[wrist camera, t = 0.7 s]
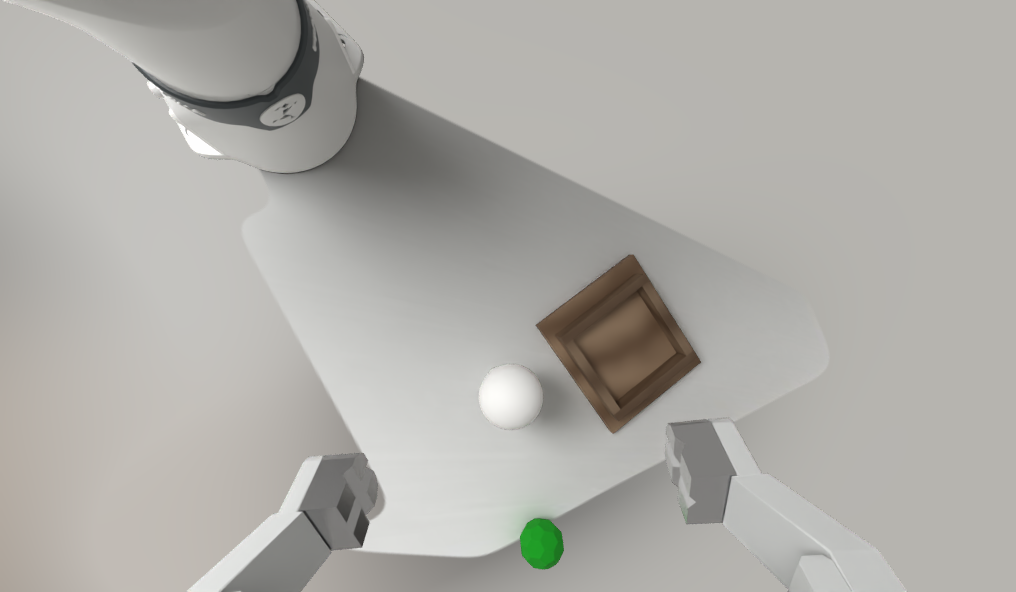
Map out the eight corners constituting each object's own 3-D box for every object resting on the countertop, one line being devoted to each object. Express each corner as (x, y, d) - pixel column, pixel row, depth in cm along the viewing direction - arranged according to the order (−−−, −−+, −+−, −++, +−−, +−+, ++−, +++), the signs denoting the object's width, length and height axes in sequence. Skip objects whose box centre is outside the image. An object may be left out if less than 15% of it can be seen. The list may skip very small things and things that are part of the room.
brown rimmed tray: (535, 325, 49) (543, 328, 46) (629, 254, 51) (641, 253, 48) (609, 430, 51) (620, 440, 49) (695, 360, 53) (711, 365, 50)
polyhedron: (543, 556, 51) (555, 586, 46) (508, 541, 50) (517, 569, 45) (563, 519, 51) (577, 544, 46) (528, 503, 50) (539, 527, 45)
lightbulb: (461, 361, 47) (473, 388, 37) (512, 341, 48) (538, 361, 38) (481, 411, 48) (498, 451, 37) (530, 389, 49) (560, 423, 38)
